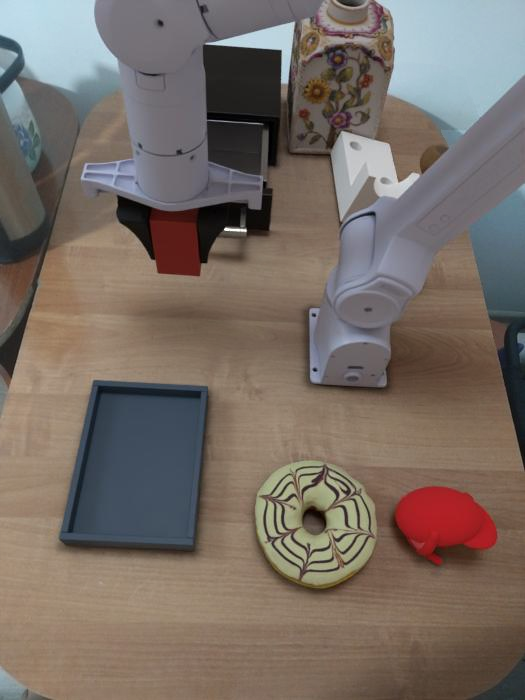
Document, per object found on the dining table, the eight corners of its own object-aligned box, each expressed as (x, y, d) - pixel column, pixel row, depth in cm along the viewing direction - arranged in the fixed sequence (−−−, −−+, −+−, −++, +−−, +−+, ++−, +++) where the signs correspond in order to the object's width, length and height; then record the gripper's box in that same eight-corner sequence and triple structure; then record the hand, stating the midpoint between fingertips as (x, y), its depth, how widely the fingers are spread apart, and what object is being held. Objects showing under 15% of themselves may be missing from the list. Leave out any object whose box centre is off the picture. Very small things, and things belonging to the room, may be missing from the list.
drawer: (268, 258, 66) (271, 223, 61) (162, 251, 65) (157, 215, 60) (271, 157, 75) (275, 119, 70) (179, 151, 75) (176, 112, 70)
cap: (386, 557, 50) (405, 541, 44) (390, 492, 53) (407, 470, 48) (477, 574, 49) (506, 560, 44) (475, 507, 52) (502, 487, 47)
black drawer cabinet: (275, 166, 76) (280, 116, 69) (174, 159, 75) (169, 108, 69) (277, 99, 83) (281, 49, 77) (185, 93, 83) (182, 42, 76)
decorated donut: (331, 451, 54) (337, 436, 51) (392, 554, 50) (404, 544, 46) (234, 498, 51) (235, 485, 48) (290, 612, 47) (295, 606, 43)
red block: (199, 276, 53) (196, 223, 47) (157, 273, 53) (148, 220, 47) (204, 241, 55) (201, 187, 49) (163, 239, 55) (156, 183, 49)
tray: (194, 550, 49) (193, 545, 47) (64, 545, 48) (58, 539, 47) (208, 395, 57) (207, 385, 55) (97, 389, 56) (93, 379, 55)
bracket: (391, 233, 72) (423, 189, 65) (340, 221, 69) (369, 175, 63) (376, 164, 78) (404, 118, 72) (330, 152, 76) (355, 104, 70)
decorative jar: (285, 102, 83) (299, -32, 68) (363, 106, 84) (394, -26, 68) (287, 156, 77) (302, 21, 61) (371, 160, 77) (407, 28, 62)
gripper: (268, 104, 44) (258, 228, 55) (81, 90, 43) (111, 217, 55) (264, 165, 40) (255, 284, 52) (60, 150, 40) (97, 273, 51)
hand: (180, 253), depth 53 cm, fingers closed on red block, 4 cm apart
